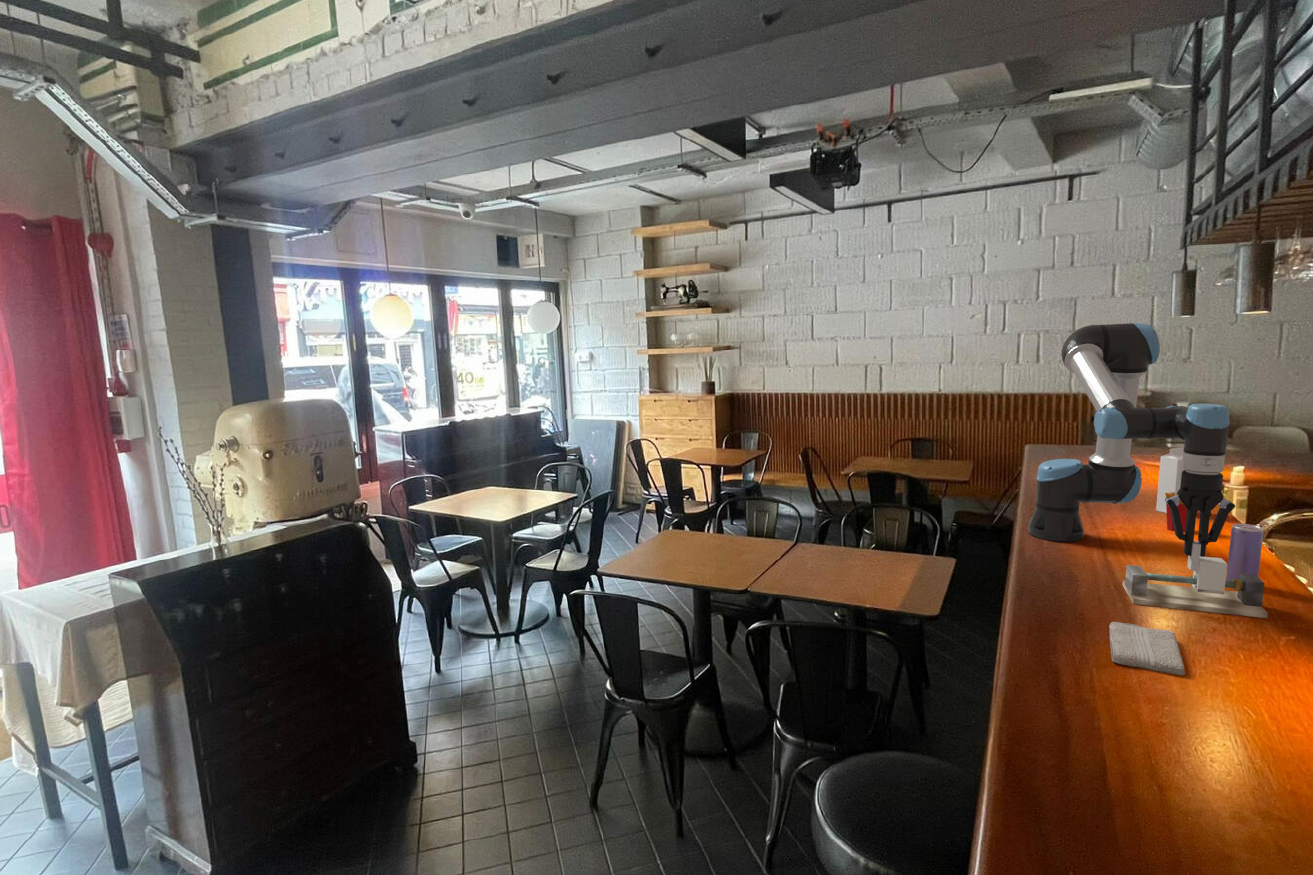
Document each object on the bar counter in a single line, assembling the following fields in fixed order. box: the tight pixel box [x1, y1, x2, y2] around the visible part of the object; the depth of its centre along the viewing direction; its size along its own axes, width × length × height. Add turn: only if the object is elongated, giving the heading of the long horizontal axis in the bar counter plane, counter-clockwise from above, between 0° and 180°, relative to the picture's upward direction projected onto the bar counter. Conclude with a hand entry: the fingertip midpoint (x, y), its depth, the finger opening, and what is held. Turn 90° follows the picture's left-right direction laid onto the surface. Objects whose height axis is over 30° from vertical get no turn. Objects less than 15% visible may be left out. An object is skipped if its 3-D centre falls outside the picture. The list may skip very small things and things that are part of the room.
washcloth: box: [1109, 621, 1186, 676], centre depth 140 cm, size 12×18×3 cm, turn 150°
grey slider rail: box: [1122, 564, 1269, 619], centre depth 162 cm, size 25×12×7 cm, turn 66°
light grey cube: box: [1191, 556, 1228, 594], centre depth 160 cm, size 5×4×7 cm
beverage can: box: [1226, 523, 1264, 581], centre depth 169 cm, size 6×6×15 cm
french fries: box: [1165, 492, 1199, 533], centre depth 211 cm, size 8×4×12 cm, turn 57°
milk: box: [1155, 446, 1185, 514], centre depth 229 cm, size 6×6×22 cm
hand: (1192, 568), depth 161 cm, fingers closed
